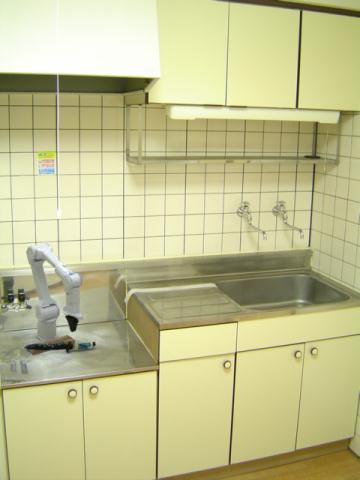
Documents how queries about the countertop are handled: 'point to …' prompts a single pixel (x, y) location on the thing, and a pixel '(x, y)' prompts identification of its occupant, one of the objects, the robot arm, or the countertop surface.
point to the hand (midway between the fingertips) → (73, 331)
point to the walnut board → (54, 340)
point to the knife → (60, 346)
